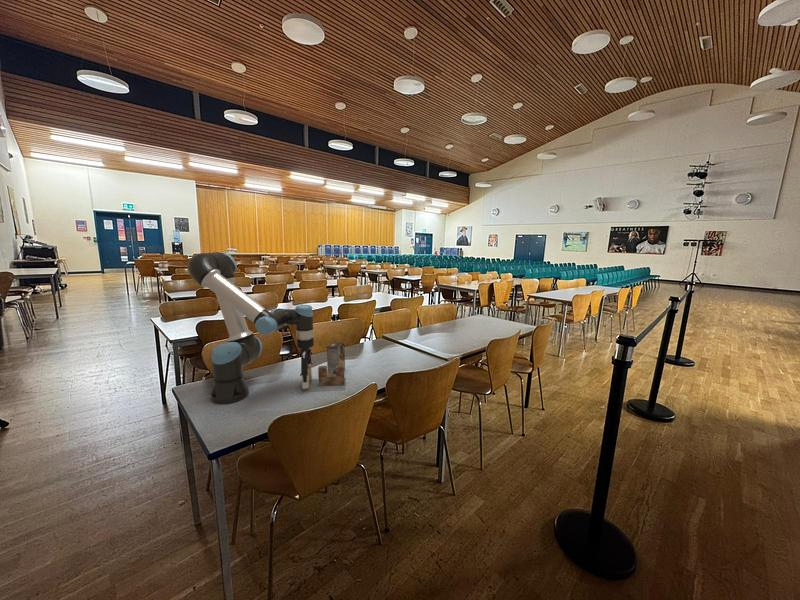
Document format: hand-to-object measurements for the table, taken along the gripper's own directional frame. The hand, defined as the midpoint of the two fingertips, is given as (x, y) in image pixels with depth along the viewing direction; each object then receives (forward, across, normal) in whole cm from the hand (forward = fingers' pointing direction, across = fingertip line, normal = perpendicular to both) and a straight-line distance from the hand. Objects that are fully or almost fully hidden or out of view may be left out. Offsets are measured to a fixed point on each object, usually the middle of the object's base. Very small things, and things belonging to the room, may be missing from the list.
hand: (307, 383), depth 159 cm
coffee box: (+2, +15, -13) cm, 20 cm away
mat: (+2, 0, -8) cm, 8 cm away
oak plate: (+1, 0, 0) cm, 1 cm away
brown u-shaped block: (+1, 0, -12) cm, 12 cm away
